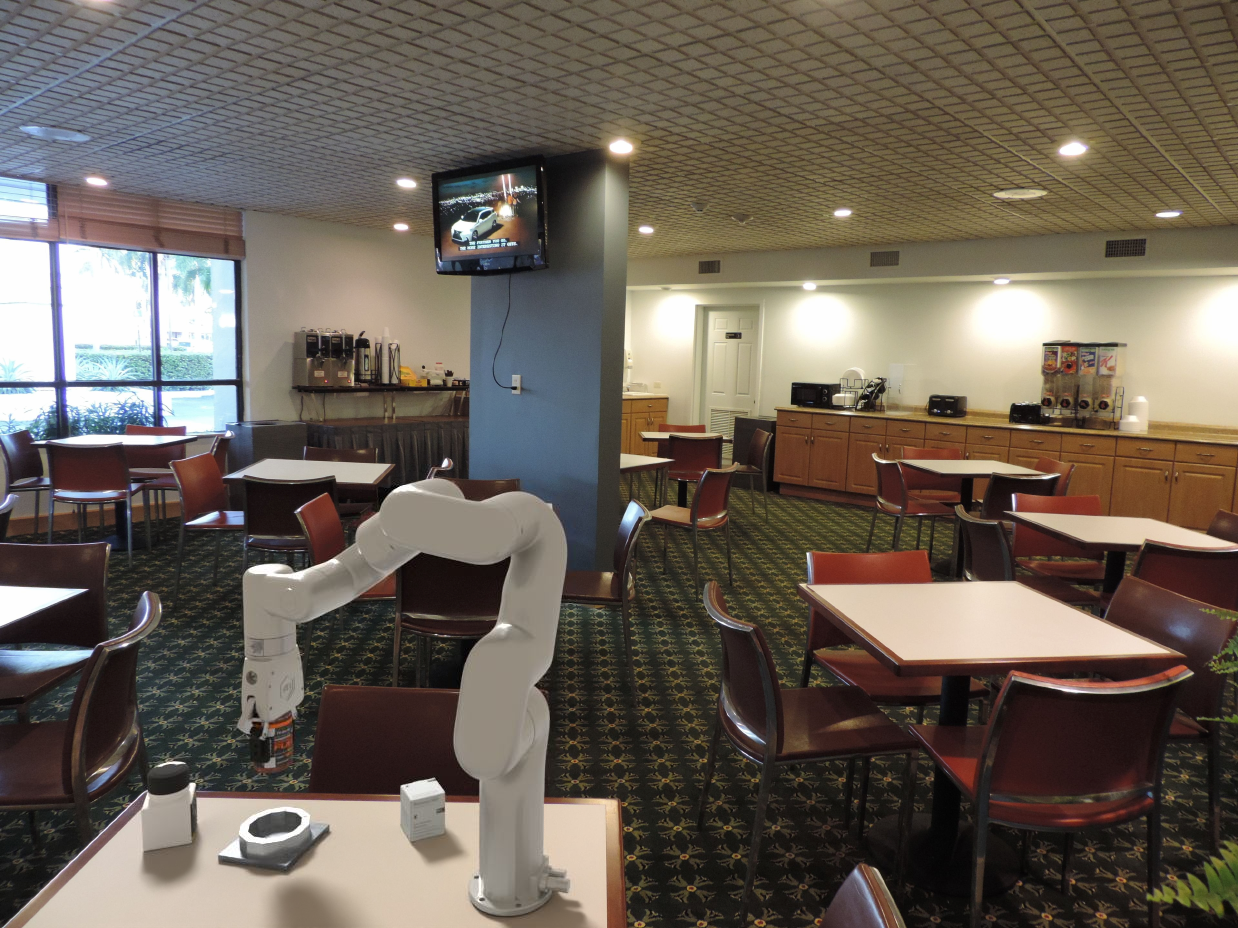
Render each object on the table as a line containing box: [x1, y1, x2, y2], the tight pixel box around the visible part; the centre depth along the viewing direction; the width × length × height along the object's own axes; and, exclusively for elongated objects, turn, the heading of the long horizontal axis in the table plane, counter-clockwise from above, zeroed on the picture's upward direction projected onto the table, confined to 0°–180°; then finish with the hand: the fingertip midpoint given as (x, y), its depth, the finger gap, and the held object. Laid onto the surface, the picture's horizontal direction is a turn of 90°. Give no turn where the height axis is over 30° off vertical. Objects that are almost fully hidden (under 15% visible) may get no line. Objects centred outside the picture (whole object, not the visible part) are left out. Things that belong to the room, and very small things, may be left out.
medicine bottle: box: [140, 761, 198, 852], centre depth 134 cm, size 7×7×12 cm
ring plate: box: [217, 806, 331, 873], centre depth 133 cm, size 12×12×4 cm
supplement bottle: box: [252, 710, 294, 774], centre depth 131 cm, size 6×6×11 cm
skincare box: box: [399, 777, 446, 843], centre depth 138 cm, size 6×6×7 cm
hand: (273, 750), depth 131 cm, fingers closed on supplement bottle, 5 cm apart
